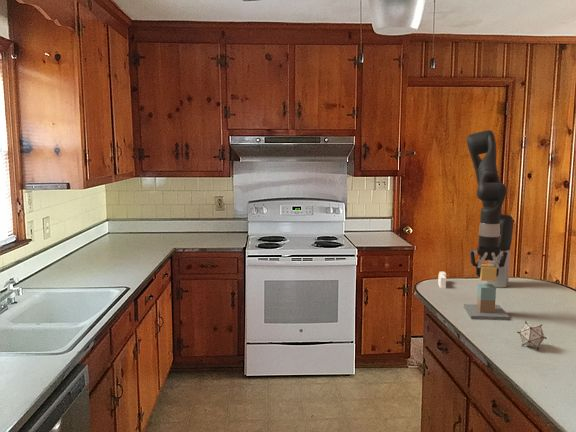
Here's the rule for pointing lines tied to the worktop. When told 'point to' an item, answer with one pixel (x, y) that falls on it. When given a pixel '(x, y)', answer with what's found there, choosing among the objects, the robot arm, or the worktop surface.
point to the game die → (532, 335)
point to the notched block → (442, 279)
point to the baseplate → (485, 315)
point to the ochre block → (488, 272)
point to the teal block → (486, 292)
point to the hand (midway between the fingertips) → (486, 276)
